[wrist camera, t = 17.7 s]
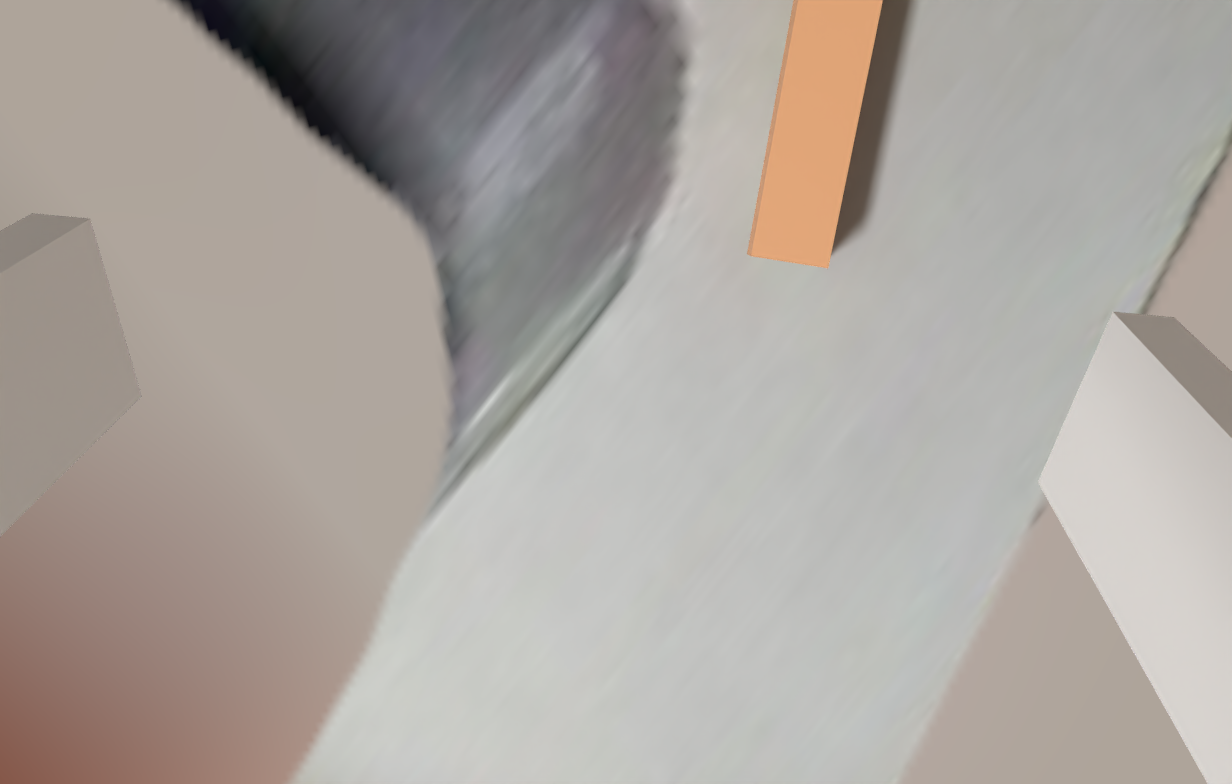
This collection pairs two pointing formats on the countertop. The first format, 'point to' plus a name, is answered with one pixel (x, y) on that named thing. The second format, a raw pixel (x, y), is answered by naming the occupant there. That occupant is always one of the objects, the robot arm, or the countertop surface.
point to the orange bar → (813, 129)
